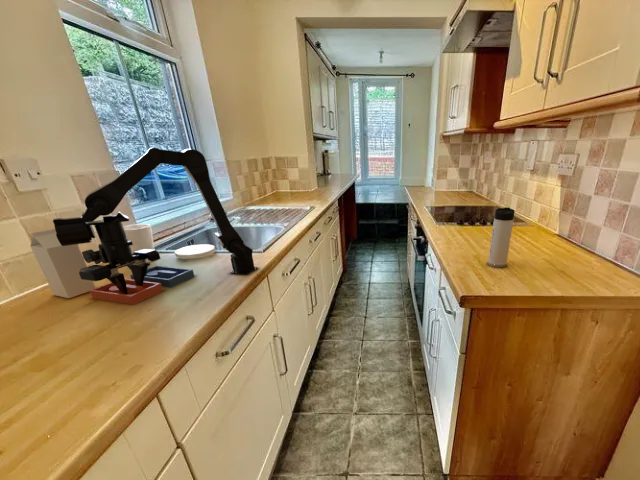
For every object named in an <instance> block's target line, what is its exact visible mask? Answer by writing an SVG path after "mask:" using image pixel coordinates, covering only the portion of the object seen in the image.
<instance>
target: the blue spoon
mask: <svg viewBox="0 0 640 480" xmlns="http://www.w3.org/2000/svg"><path fill="white" fill-rule="evenodd" d="M177 275H178V274H177V272H174V271H166V270H157V271H152V272H149V273H147V276H148V277H156V278H164V279H170V278H172V277H174V276H177Z"/></svg>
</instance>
